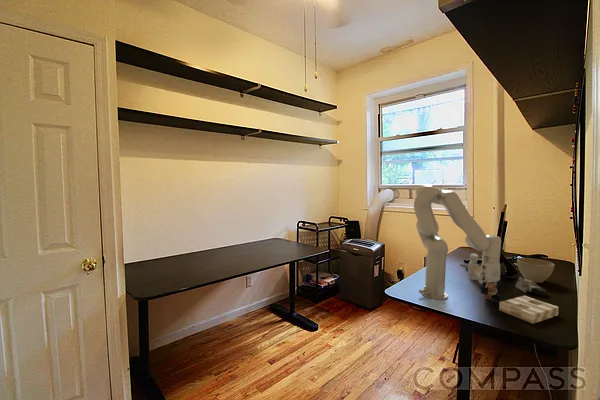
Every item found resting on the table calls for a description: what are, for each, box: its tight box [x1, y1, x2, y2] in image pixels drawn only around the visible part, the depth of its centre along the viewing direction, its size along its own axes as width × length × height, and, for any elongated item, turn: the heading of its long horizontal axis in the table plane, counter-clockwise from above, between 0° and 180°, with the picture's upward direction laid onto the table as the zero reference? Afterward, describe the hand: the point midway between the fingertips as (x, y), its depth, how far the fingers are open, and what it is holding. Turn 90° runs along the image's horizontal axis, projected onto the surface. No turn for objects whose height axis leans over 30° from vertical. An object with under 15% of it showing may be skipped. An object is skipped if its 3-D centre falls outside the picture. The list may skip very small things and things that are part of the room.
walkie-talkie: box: [459, 264, 481, 272], centre depth 197 cm, size 9×4×20 cm
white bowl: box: [516, 257, 555, 284], centre depth 178 cm, size 18×18×12 cm
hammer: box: [467, 253, 498, 296], centre depth 167 cm, size 16×5×30 cm
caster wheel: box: [515, 276, 547, 297], centre depth 158 cm, size 7×11×10 cm
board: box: [498, 295, 559, 324], centre depth 133 cm, size 20×14×4 cm
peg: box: [483, 280, 495, 300], centre depth 148 cm, size 6×6×9 cm
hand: (488, 292), depth 148 cm, fingers closed on peg, 5 cm apart
